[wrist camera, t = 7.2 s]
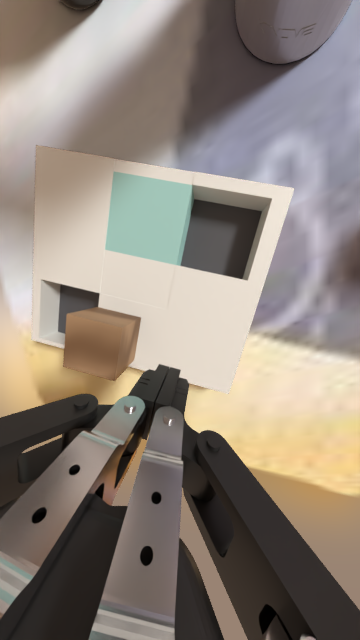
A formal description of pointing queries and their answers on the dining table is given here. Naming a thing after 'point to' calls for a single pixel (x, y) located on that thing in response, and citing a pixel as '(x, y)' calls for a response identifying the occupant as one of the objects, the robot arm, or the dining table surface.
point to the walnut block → (100, 341)
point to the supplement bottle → (79, 3)
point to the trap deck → (154, 256)
